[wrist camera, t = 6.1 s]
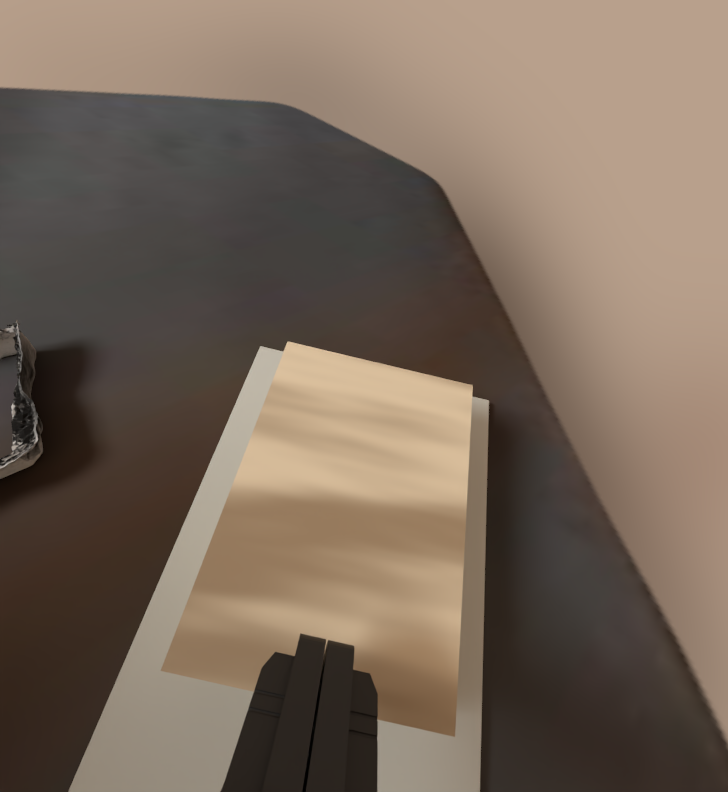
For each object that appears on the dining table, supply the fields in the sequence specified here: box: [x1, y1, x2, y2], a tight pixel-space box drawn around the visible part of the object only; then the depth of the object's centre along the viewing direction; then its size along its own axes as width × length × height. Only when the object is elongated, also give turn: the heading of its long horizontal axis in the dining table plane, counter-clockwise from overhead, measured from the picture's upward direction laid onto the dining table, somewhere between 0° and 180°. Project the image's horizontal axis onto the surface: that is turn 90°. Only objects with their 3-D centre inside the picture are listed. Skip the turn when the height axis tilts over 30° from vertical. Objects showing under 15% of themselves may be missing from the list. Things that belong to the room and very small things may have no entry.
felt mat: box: [68, 346, 489, 792], centre depth 17 cm, size 24×14×1 cm, turn 169°
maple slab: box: [161, 342, 473, 737], centre depth 17 cm, size 4×9×13 cm
